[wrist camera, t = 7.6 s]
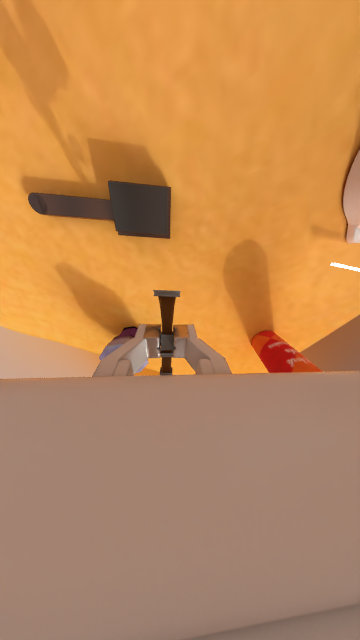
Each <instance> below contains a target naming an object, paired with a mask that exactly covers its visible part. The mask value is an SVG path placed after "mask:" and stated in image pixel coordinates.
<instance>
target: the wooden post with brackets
mask: <svg viewBox="0 0 360 640" xmlns="http://www.w3.org/2000/svg"><path fill="white" fill-rule="evenodd" d="M153 291H154V296H158V297H159V302H160V308H161V318H162V331H161V348H160V350H161V351H160V357H162V367H161V369H160V375H172V367H171V357H173V337H174V335H173V331H172V323H173V313H174V304H175V299H176V297H180V292H181V291H165V290H153Z"/></svg>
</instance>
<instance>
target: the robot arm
mask: <svg viewBox="0 0 360 640" xmlns="http://www.w3.org/2000/svg"><path fill="white" fill-rule="evenodd" d="M343 209H344V213H345V216H346V219H347V222H348V229H347V236H346V240H347V243H360V150H359V152H358V154H357V155H356V158H355V160H354V162H353V164H352V167H351V169H350V172H349V175H348V178H347V181H346V185H345V189H344V196H343ZM331 265H333V266H338V267H342V268H347V269H351V270H356V271H360V269H359V268H354V267H350V266H345V265H341V264H336V263H332V264H331ZM173 335H174V337H173V358H185V359H186V360H187V362H188V363H189V364H190V365H191V367H192V368H193V369H194V371H195V372H196V375H158V376H134V374H135V373H136V372H137V371H138V369H139V368H140V367H141V366H142V365H143V364H144V362H145V361H146V360H147V358H160V346H161V324H139V326H138V329H137V332H136V335H135V338H132V339H130V340H129V341H128V342H126V343H125V344H123V345H122V346H120V347H119V348H117V349H116V350H115V351H113V352H112V353H110V354H109V355H107V356H106V357H105V358H103V359H102V360H101V362H100V364H99V365H98V367H97V369H96V371H95V372H94V374H93V376H92V377H72V378H71V377H70V378H25V379H0V640H360V371H338V372H292V373H248V374H232V373H231V371H230V369H229V366H228V364H227V362H226V360H225V358H224V357H223V356H221V355H220V354H219V353H217V352H216V351H215V350H214V349H212V348H211V347H210V346H208V345H207V344H206V343H205V342H203V341H202V340H201V339H199V338H197V335H196V331H195V328H194V325H173Z"/></svg>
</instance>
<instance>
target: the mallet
mask: <svg viewBox="0 0 360 640" xmlns="http://www.w3.org/2000/svg"><path fill="white" fill-rule="evenodd" d="M108 187H109V192H110V198H111V200H106V199H96V198H85V197H75V196H64V195H53V194H43V193H30V194H29V196H28V200H29V203H30V205H31V207H32V208H33V209H34V210H35V211H36V212H38V213H39V214H43V215H48V216H58V217H71V218H83V219H96V220H108V221H115V227H116V231H118V235H125V236H139V237H153V238H167V239H170V207H171V187H165V186H155V185H146V184H137V183H128V182H118V181H108Z"/></svg>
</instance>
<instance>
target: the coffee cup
mask: <svg viewBox="0 0 360 640" xmlns="http://www.w3.org/2000/svg"><path fill="white" fill-rule="evenodd" d="M251 345H252V347H253V348H254V350H255V351H256V353H257V355H258V356H259V358H260V359H261V361H262V362H263V364H264V365H265V367H266V368H267V370H268V371H269V373H292V372H322V371H321V370H320V369H319V368H318V367H316V366H315V365H314V364H313V363H311V362H310V361H309V360H308V359H306V358H305V357H304V356H303V355H301V354H300V353H299V352H298V351H296V350H295V349H294V348H293V347H291V346H290V345H289V344H288V343H286V342H285V341H284V340H283V339H281V338H280V337H279V336H277V335H276V334H275V333H273V332H272V331H263V332H260V333H258V334H257V335H255V336H254V337H253V339H252V341H251Z"/></svg>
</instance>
